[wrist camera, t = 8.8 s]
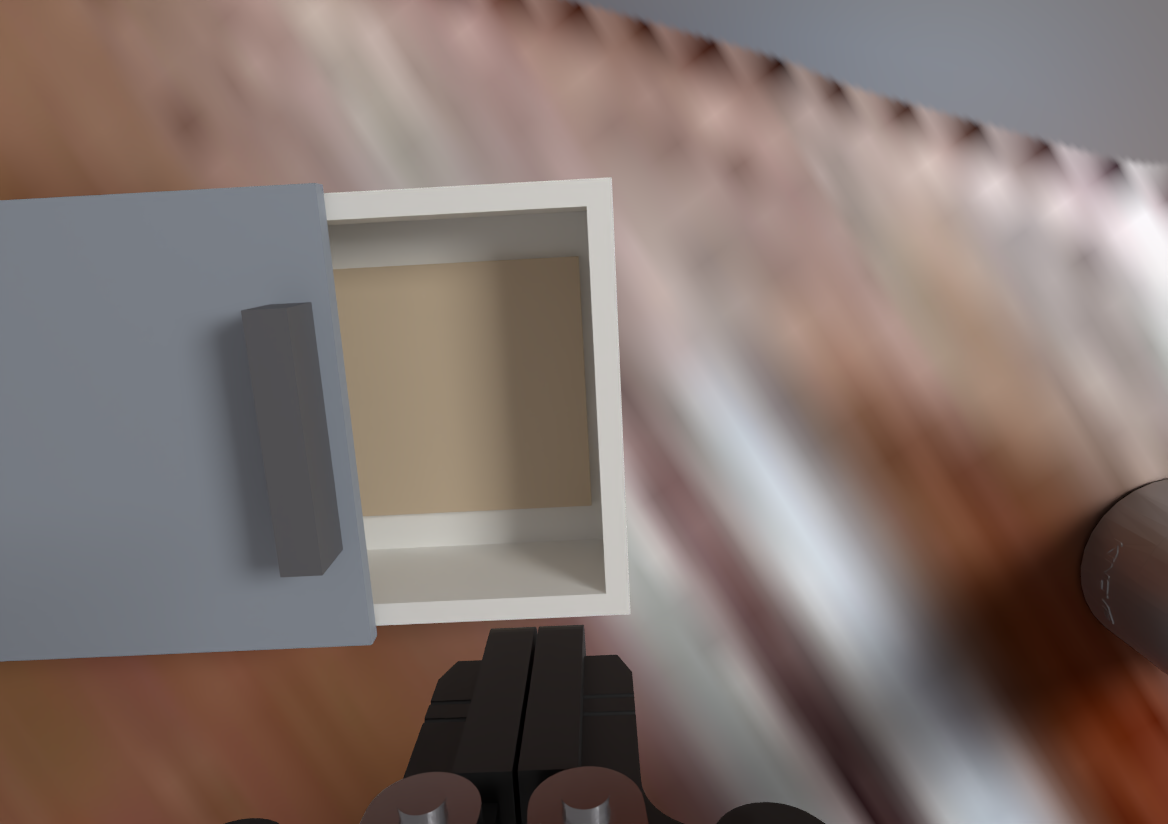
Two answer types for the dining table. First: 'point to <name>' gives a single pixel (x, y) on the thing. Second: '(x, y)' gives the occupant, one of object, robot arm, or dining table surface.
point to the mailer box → (485, 398)
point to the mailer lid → (175, 428)
